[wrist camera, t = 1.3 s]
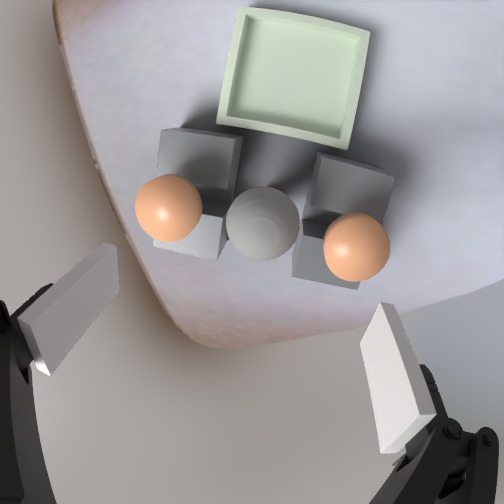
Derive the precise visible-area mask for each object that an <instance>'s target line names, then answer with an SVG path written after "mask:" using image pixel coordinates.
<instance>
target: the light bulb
mask: <svg viewBox="0 0 504 504" xmlns="http://www.w3.org/2000/svg"><path fill="white" fill-rule="evenodd" d="M299 224H300V220H299V214H298V210H297V208H296V206H295V204H294V203H293V201H292V200H291V199H290V198H289V197H288V196H287V195H286V194H284V193H283V192H281V191H280V190H278V189H275V188H272V187H264V186H263V187H255V188H251V189H248V190H246V191H244V192H242V193H241V194H240V195H239V196H237V198H236V199H235V200H234V201H233V203H232V204H231V206H230V208H229V210H228V213H227V217H226V229H227V233H228V236H229V239H230V241H231V243H232V244H233V246H234V247H235V248H236V249H237V250H238V251H239V252H240V253H242V254H243V255H245V256H247V257H249V258H252V259H256V260H270V259H274V258H277V257H279V256H281V255H282V254H284V253H285V252H286V251H288V250H289V249H290V248H291V247H292V245H293V244H294V243H295V241H296V239H297V236H298V233H299Z"/></svg>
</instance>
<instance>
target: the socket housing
mask: <svg viewBox="0 0 504 504" xmlns="http://www.w3.org/2000/svg"><path fill="white" fill-rule="evenodd" d="M243 137H244V136H240V135H234V134H228V133H221V132H214V131H206V130H199V129H190V128H181V127H179V128H171V129H164V130H161V135H160V144H159V154H158V165H157V177H159V176H161V175H165V174H176V175H180V176H182V177H184V178H186V179H188V180H189V181H190V182H191V183H192V184H193V185H194V186H195V187H196V189H197V190H198V192H199V194H200V197H201V200H202V215H201V218H200V220H199V222H198V224H197V225H196V226H195V227H194V229H193V230H192V231H191V232H190V233H189V234H188V235H187V236H186V237H185V238H183V239H182V240H179V241H176V242H163V241H159V240H157V239H155V238H153V246H154V247H158V248H162V249H167V250H171V251H176V252H180V253H185V254H189V255H194V256H198V257H203V258H207V259H212V260H216V261H217V260H218V258H219V256H220V254H221V252H222V250H223V248H224V246H225V244H226V242H227V237H228V233H227V229H226V217H227V213H228V210H229V208H230V206H231V204H232V203H233V198H234V191H235V185H236V179H237V173H238V167H239V161H240V155H241V149H242V143H243ZM394 181H395V177H394V176H392V175H390V174H389V173H387V172H386V171H384V170H382V169H381V168H378V167H374V166H371V165H368V164H364V163H361V162H357V161H354V160H350V159H346V158H343V157H339V156H335V155H331V154H327V153H323V152H319V151H317V156H316V160H315V164H314V169H313V173H312V177H311V182H310V186H309V190H308V194H307V199H306V203H305V207H304V211H303V215H302V219H301V223H300V227H299V233H298V236H297V239H296V243H295V247H294V251H293V255H292V277H296V278H301V279H306V280H310V281H315V282H320V283H325V284H330V285H335V286H340V287H345V288H350V289H355V290H357V289H358V286H359V284H360V281H357V282H352V281H346V280H343V279H341V278H339V277H337V276H336V275H334V274H333V273H332V272H331V270H330V269H329V268H328V266H327V263H326V260H325V255H324V251H323V238H324V235H325V232H326V230H327V228H328V227H329V226H330V224H331V223H332V222H333V221H335V220H336V219H337V218H339V217H340V216H342V215H345V214H348V213H355V212H357V213H364V214H367V215H370V216H371V217H373V218H374V219H376V220H377V221H378V223H380V224H382V221H383V217H384V214H385V211H386V208H387V205H388V202H389V198H390V195H391V192H392V188H393V185H394Z"/></svg>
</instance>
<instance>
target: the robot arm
mask: <svg viewBox="0 0 504 504" xmlns="http://www.w3.org/2000/svg"><path fill="white" fill-rule="evenodd" d="M118 292H119V280H118V266H117V246H116V245H112V244H108V243H103V244H102V245H101V246H99V247H98V248H97V249H96V250H94V251H93V252H92V253H91V254H90V255H88V256H87V257H86V258H84V259H83V260H82V261H81V262H80V263H78V264H77V265H76V266H75V267H74V268H73V269H71V270H70V271H69V272H68V273H67V274H65V275H64V276H63V277H62V278H61V279H59V280H58V281H57V282H56V283H55V284H52V283H50V284H48V285H46V286H44V287H42V288H41V289H40V290H38V291H37V292H36V293H35V295H33V296H32V297H31V298H29V300H27V301H26V302H25V303H24V304H23V305H22V306H21V307H20V308H18V309H17V310H16V311H15V312H14V313H13V314H12V315H11V316H9V313H8V310H7V307H6V304H5V303H4V302H3V301H2V300H0V504H57V503H56V500H55V497H54V494H53V491H52V488H51V484H50V481H49V477H48V473H47V470H46V465H45V462H44V457H43V452H42V448H41V443H40V438H39V432H38V426H37V420H36V413H35V405H34V396H33V385H32V371H31V367H30V363H31V362H32V361H33V360H34V362H35V364H36V366H37V368H38V369H39V370H40V371H42V372H44V373H46V374H48V375H50V376H51V375H52V374H53V372H54V371H55V370H56V368H57V367H58V366H59V365H60V363H61V362H62V360H63V359H64V358H65V357H66V355H67V354H68V353H69V352H70V350H71V349H72V348H73V346H74V345H75V344H76V343H77V341H78V340H79V339H80V338H81V336H82V335H83V334H84V333H85V332H86V330H87V329H88V328H89V327H90V325H91V324H92V323H93V322H94V321H95V319H96V318H97V317H98V316H99V315H100V313H101V312H102V311H103V310H104V308H105V307H106V306H107V305H108V304H109V303H110V302H111V300H112V299H113V298H114V297H115V296H116V295H117V294H118ZM360 347H361V351H362V355H363V360H364V364H365V369H366V373H367V378H368V383H369V388H370V393H371V398H372V403H373V409H374V414H375V420H376V426H377V432H378V439H379V445H380V452H381V454H382V453H397V452H398V451H399V450H400V449H401V448H403V447H404V446H405V447H406V453H405V454H404V455H403V456H402V457H400V458H399V459H398V460H397V461H396V462H395V463H394V464H393V466H395V465H396V464H397V463H398V464H397V466H396V467H395V468H394V470H393V471H392V473H391V474H390V476H389V477H388V479H387V480H386V482H385V483H384V484H383V486H382V487H381V488H380V490H379V491H378V492H377V494H376V495H375V496H374V498H373V499H372V500H371V502H370V503H369V504H494V502H495V494H496V485H497V474H498V456H499V441H498V437H497V435H496V433H495V432H494V431H493V430H492V429H491V428H489V427H483V428H481V429H480V430H479V431H478V432H476V433H475V434H474V433H469V432H465V431H463V429H462V427H461V426H460V424H459V423H458V422H457V421H456V420H454V419H452V418H448V416H447V413H446V410H445V407H444V405H443V402H442V399H441V396H440V393H439V392H438V388H437V386H436V384H435V380H434V378H433V375H432V373H431V372H430V371H429V369H428V368H427V367H426V366H425V365H422V364H421V365H420V364H418V361H417V358H416V356H415V353H414V351H413V348H412V346H411V344H410V341H409V338H408V336H407V334H406V332H405V329H404V327H403V325H402V322H401V320H400V318H399V316H398V313H397V311H396V309H395V307H394V305H393V304H388V303H383V302H380V303H379V306H378V308H377V310H376V312H375V314H374V316H373V318H372V320H371V323H370V325H369V327H368V329H367V331H366V333H365V335H364V337H363V339H362V341H361V343H360ZM465 475H466V478H465Z"/></svg>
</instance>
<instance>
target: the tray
mask: <svg viewBox="0 0 504 504" xmlns="http://www.w3.org/2000/svg"><path fill="white" fill-rule="evenodd" d="M369 37H370V32H369V31H366V30H363V29H360V28H356V27H353V26H350V25H346V24H342V23H338V22H335V21H331V20H326V19H322V18H317V17H313V16H308V15H303V14H297V13H291V12H285V11H279V10H271V9H263V8H253V7H242V6H238V10H237V15H236V19H235V24H234V28H233V33H232V38H231V43H230V47H229V52H228V58H227V63H226V68H225V73H224V79H223V84H222V90H221V95H220V101H219V107H218V113H217V119H216V124H221V125H228V126H235V127H241V128H247V129H253V130H259V131H264V132H270V133H275V134H280V135H285V136H290V137H294V138H299V139H303V140H308V141H312V142H316V143H320V144H324V145H328V146H332V147H336V148H340V149H344V150H348V146H349V141H350V137H351V133H352V128H353V124H354V119H355V114H356V109H357V105H358V100H359V95H360V89H361V84H362V79H363V73H364V68H365V62H366V56H367V50H368V44H369Z"/></svg>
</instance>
